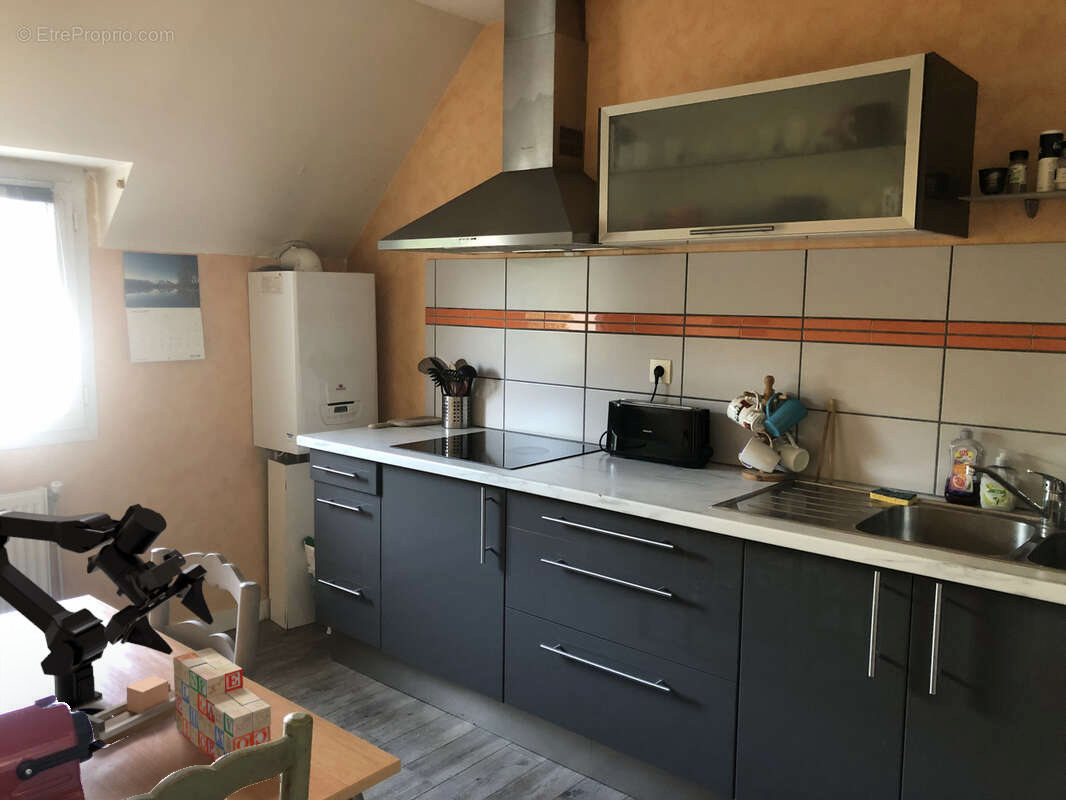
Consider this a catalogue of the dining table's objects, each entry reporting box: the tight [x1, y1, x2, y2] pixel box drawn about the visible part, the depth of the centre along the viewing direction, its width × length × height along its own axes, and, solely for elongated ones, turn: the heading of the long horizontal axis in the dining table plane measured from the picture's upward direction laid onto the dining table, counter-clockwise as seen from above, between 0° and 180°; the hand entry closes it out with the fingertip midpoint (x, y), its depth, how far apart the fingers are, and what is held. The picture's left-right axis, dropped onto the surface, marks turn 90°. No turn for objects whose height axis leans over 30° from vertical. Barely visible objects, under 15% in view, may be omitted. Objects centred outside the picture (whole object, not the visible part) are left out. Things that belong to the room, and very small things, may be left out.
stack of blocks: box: [172, 647, 272, 761], centre depth 135 cm, size 21×6×12 cm, turn 44°
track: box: [85, 682, 176, 744], centre depth 142 cm, size 7×17×4 cm, turn 152°
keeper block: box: [126, 675, 169, 714], centre depth 144 cm, size 4×5×4 cm
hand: (192, 637), depth 143 cm, fingers open, 9 cm apart
